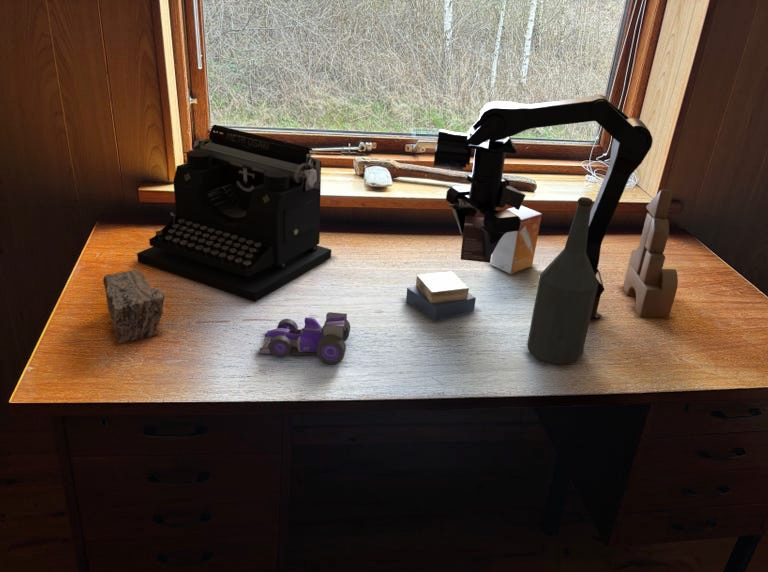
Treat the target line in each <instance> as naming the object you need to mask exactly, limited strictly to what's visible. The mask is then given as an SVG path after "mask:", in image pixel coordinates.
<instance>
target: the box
mask: <svg viewBox="0 0 768 572" xmlns="http://www.w3.org/2000/svg"><path fill="white" fill-rule="evenodd" d="M481 226H484V216H476V215H475V216H468V215H466V218H465V224H464V231H463V238H462V240H461V250H460V261H471V262H477V263H487V264H491V260H492V256H491V257H489V258H486V257H485V255H484V250H483V241H482V233H481Z"/></svg>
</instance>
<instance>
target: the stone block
mask: <svg viewBox="0 0 768 572" xmlns="http://www.w3.org/2000/svg"><path fill="white" fill-rule="evenodd" d="M102 282H103V286H104V289H105V296H106V305H107V310H108V313H109V316H110V319H111V322H112V325H113V330H114V333H115V336H116V339H117V341H118V343H119V344H124V343H129V342H133V341H137V340H142V339H146V338H151V337H155V336H157V335H158V329H157V326H159V324H160V322H161V318H162V315H163V312H164V311H163V308H164V303H165V298H166V296H165V293H164V292H162V290H160V289H158V288H154V287H152V286H151V285H150V284H149V283H148V279H147V278H146V277H145V276H144V274H142V273H141V271H140V269H132V270H125V271H119V272H113V273H109V274H105V275H104V276H103V281H102Z"/></svg>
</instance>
